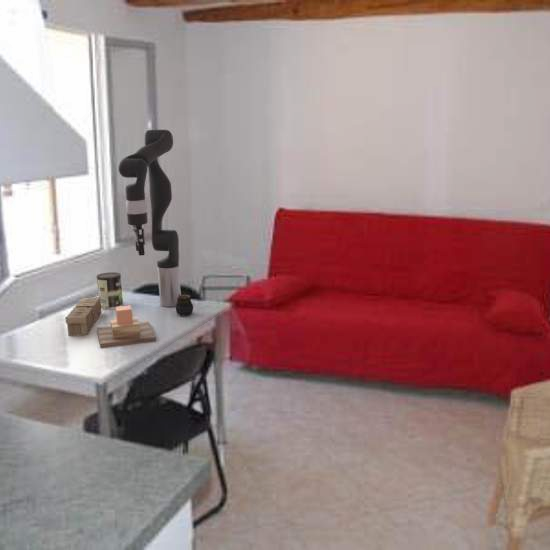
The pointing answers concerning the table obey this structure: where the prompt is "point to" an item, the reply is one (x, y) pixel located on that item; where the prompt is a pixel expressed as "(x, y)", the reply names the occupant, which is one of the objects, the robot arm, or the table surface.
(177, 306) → the mate gourd
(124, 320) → the terracotta cube
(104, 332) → the walnut base
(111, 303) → the coffee can
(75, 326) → the brown long block
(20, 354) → the table surface
